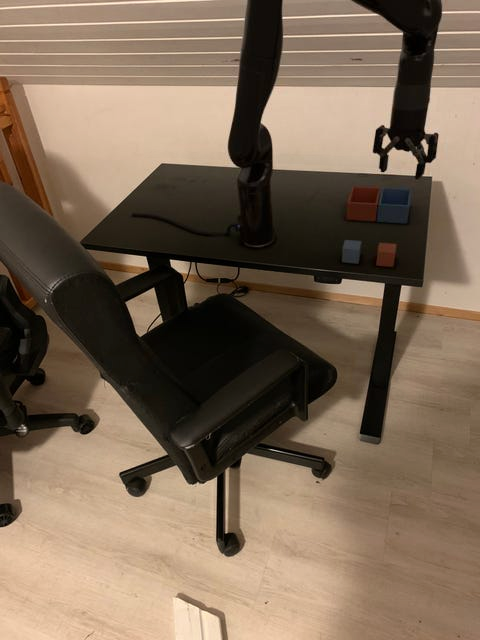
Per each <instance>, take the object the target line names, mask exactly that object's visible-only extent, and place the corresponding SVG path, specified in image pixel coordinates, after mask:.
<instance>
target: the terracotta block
mask: <svg viewBox="0 0 480 640" xmlns="http://www.w3.org/2000/svg"><path fill="white" fill-rule="evenodd" d="M396 251H397V243H389V242H378V247H377V255H376V256H377V257H376V263H375V266H377V267H389V268H394V266H395V259H396Z"/></svg>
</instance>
